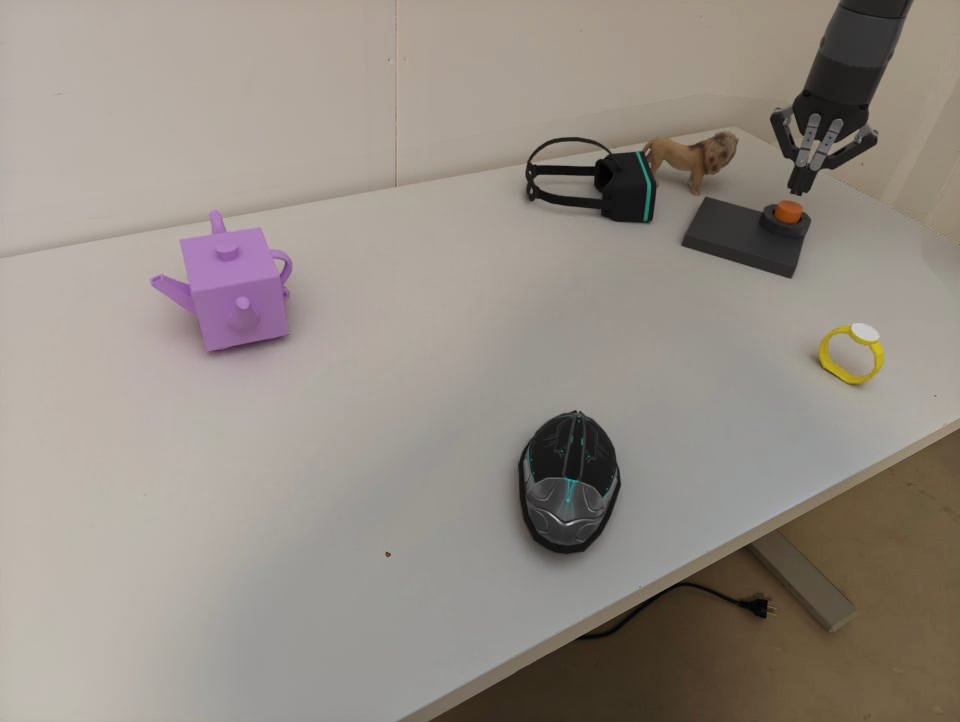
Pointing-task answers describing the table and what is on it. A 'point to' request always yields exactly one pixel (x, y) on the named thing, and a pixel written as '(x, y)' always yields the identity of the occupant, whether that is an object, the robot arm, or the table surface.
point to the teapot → (231, 286)
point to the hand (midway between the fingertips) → (795, 192)
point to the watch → (860, 335)
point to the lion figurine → (693, 156)
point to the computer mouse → (568, 483)
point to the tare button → (788, 211)
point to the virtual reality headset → (603, 183)
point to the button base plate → (747, 236)
